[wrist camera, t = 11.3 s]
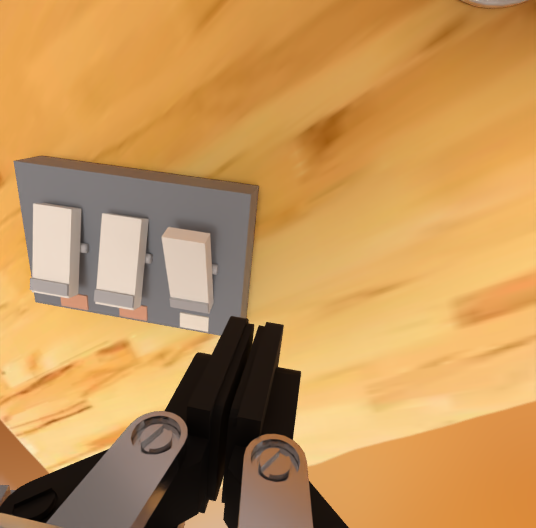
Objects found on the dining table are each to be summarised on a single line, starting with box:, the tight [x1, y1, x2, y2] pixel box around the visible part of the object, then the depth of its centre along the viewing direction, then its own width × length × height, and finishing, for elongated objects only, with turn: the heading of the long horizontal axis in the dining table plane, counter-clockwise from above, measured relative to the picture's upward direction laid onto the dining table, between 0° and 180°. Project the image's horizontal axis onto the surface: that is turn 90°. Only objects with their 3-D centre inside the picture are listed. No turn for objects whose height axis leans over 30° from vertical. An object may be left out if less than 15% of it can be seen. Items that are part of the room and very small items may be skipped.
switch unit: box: [14, 156, 259, 335], centre depth 42 cm, size 16×24×5 cm, turn 84°
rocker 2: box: [94, 213, 149, 310], centre depth 38 cm, size 9×4×2 cm, turn 174°
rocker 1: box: [30, 203, 81, 298], centre depth 39 cm, size 9×4×2 cm, turn 174°
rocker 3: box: [162, 227, 214, 314], centre depth 38 cm, size 9×4×2 cm, turn 174°
